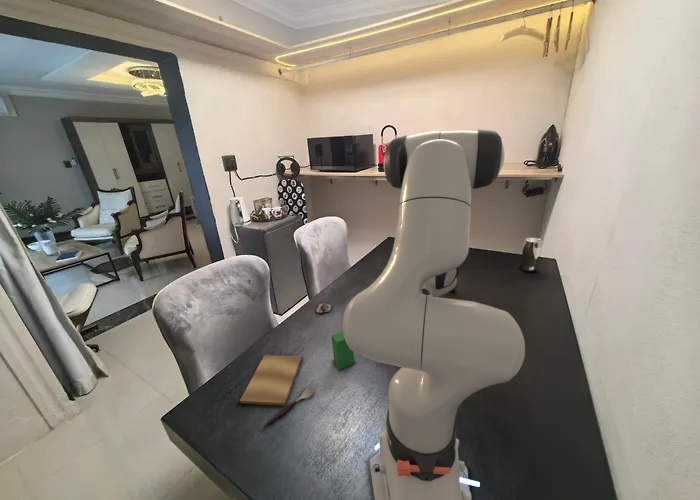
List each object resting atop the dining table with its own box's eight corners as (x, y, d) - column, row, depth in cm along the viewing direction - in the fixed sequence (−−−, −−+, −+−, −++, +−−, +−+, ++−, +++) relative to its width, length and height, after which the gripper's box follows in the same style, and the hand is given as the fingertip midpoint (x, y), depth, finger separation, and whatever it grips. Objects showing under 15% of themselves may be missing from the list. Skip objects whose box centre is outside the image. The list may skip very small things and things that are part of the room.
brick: (339, 369, 77) (336, 342, 73) (334, 361, 80) (331, 335, 76) (354, 362, 79) (352, 336, 75) (348, 355, 82) (346, 329, 78)
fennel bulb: (458, 290, 112) (461, 265, 107) (449, 293, 110) (451, 267, 106) (449, 284, 117) (451, 260, 113) (440, 287, 115) (442, 262, 111)
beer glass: (515, 268, 128) (521, 239, 122) (524, 264, 130) (530, 236, 125) (529, 273, 122) (536, 243, 116) (539, 270, 124) (546, 240, 119)
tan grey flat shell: (316, 315, 102) (316, 311, 101) (313, 304, 109) (313, 301, 108) (333, 312, 103) (333, 308, 103) (329, 301, 111) (329, 297, 110)
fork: (261, 425, 63) (259, 419, 62) (314, 383, 73) (313, 377, 72) (266, 432, 61) (264, 426, 60) (320, 388, 71) (319, 383, 70)
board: (284, 405, 67) (284, 403, 66) (240, 403, 68) (239, 400, 68) (301, 358, 82) (301, 356, 81) (264, 357, 83) (264, 355, 83)
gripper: (393, 271, 92) (359, 282, 86) (436, 298, 75) (397, 314, 69) (393, 287, 94) (360, 298, 88) (435, 316, 77) (397, 333, 71)
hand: (376, 305), depth 79 cm, fingers open, 8 cm apart
